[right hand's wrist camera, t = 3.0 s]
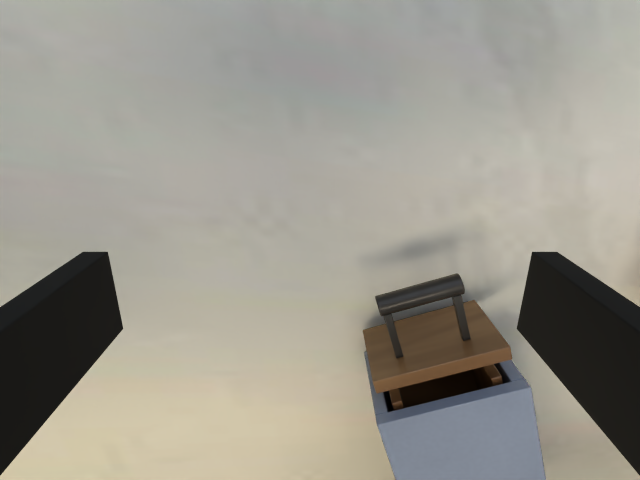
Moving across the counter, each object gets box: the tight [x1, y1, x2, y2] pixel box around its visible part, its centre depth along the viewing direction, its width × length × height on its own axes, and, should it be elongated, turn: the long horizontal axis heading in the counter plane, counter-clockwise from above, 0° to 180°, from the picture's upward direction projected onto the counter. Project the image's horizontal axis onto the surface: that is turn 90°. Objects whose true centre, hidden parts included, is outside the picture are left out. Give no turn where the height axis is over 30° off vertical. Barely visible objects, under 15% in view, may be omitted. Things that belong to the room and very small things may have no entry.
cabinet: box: [364, 352, 546, 480], centre depth 37 cm, size 20×12×9 cm, turn 17°
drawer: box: [363, 274, 512, 411], centre depth 34 cm, size 24×10×7 cm, turn 17°
